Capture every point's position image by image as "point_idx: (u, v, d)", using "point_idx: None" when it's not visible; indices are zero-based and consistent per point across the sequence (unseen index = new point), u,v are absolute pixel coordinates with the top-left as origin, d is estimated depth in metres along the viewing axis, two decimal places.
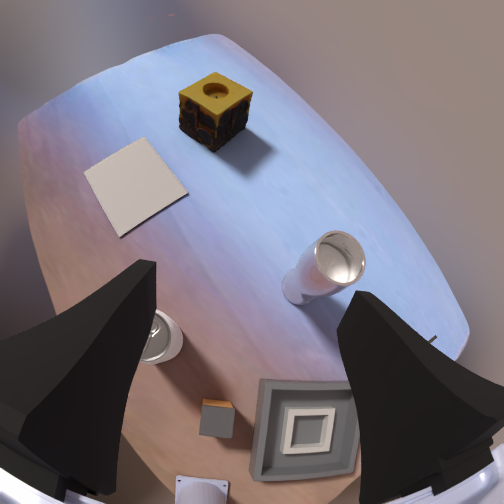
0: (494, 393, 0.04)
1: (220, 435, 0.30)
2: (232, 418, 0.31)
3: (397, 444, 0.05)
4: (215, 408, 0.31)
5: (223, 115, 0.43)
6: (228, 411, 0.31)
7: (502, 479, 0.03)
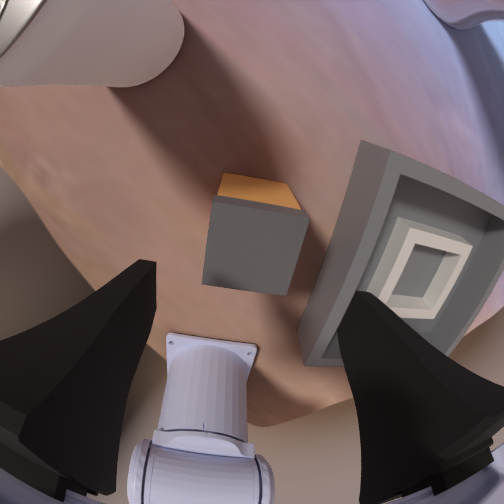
0: (494, 393, 0.04)
1: (257, 287, 0.14)
2: (297, 244, 0.12)
3: (397, 444, 0.05)
4: (252, 211, 0.12)
5: None
6: (290, 223, 0.12)
7: (502, 479, 0.03)
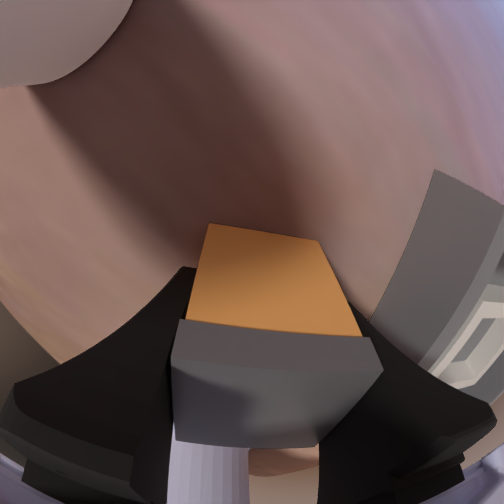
0: (460, 405, 0.04)
1: (269, 445, 0.07)
2: (349, 403, 0.06)
3: (350, 453, 0.05)
4: (266, 372, 0.05)
5: None
6: (343, 381, 0.05)
7: (502, 479, 0.03)
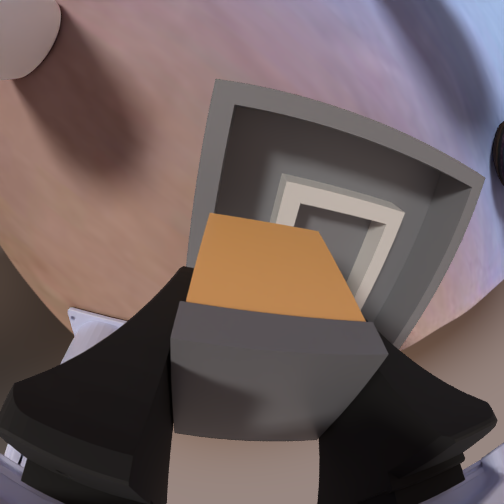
0: (460, 406, 0.04)
1: (271, 437, 0.07)
2: (353, 390, 0.05)
3: (350, 453, 0.05)
4: (269, 354, 0.05)
5: None
6: (348, 366, 0.05)
7: (502, 479, 0.03)
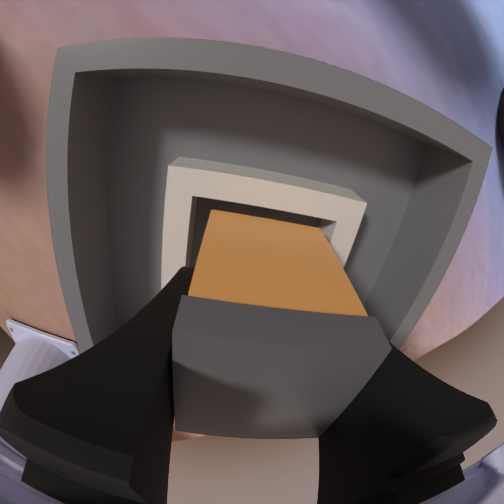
0: (461, 405, 0.04)
1: (273, 435, 0.07)
2: (356, 386, 0.05)
3: (350, 453, 0.05)
4: (272, 348, 0.05)
5: None
6: (351, 360, 0.05)
7: (502, 479, 0.03)
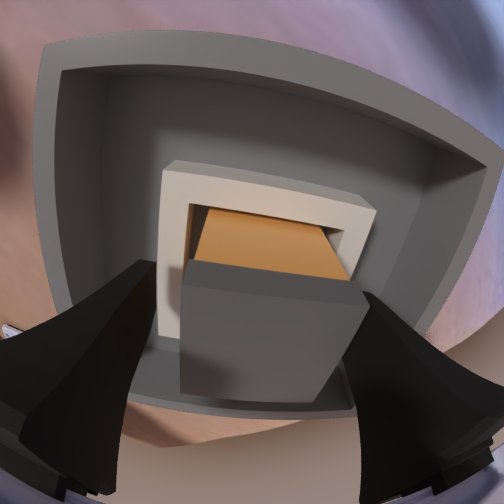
0: (494, 393, 0.04)
1: (269, 397, 0.08)
2: (341, 344, 0.07)
3: (397, 444, 0.05)
4: (264, 300, 0.06)
5: None
6: (333, 315, 0.06)
7: (502, 479, 0.03)
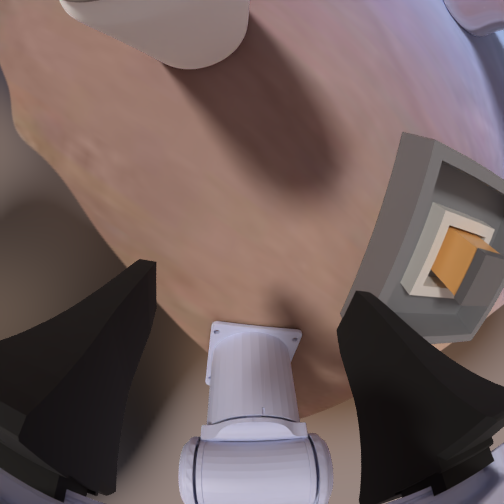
0: (494, 393, 0.04)
1: (480, 303, 0.16)
2: (503, 275, 0.15)
3: (397, 444, 0.05)
4: (496, 259, 0.14)
5: None
6: None
7: (502, 479, 0.03)
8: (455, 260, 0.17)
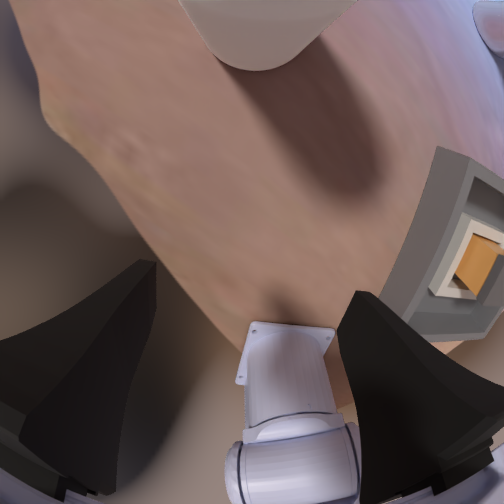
0: (494, 393, 0.04)
1: (498, 303, 0.16)
2: None
3: (397, 444, 0.05)
4: None
5: None
6: None
7: (502, 479, 0.03)
8: (477, 265, 0.17)
